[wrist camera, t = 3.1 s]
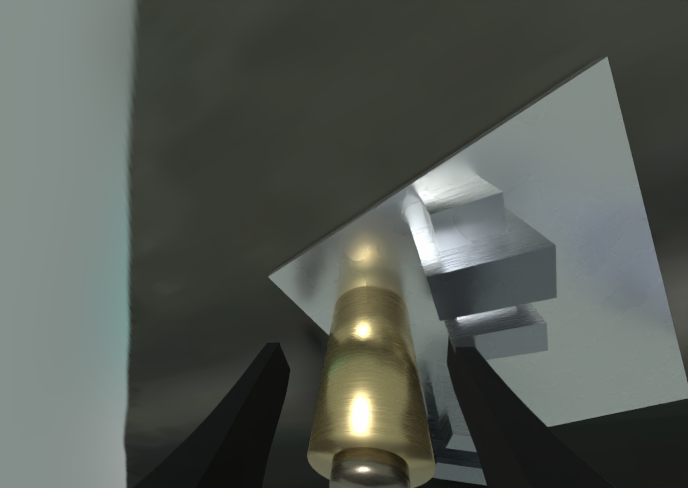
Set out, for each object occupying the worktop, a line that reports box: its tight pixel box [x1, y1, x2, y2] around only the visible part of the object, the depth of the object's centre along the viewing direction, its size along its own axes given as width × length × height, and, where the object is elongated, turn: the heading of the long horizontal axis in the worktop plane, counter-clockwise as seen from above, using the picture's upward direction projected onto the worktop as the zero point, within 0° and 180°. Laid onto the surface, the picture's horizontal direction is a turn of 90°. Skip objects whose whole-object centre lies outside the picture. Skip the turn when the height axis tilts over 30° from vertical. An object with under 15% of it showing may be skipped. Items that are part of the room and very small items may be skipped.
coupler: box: [308, 286, 436, 488], centre depth 10 cm, size 4×4×7 cm
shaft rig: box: [268, 57, 688, 485], centre depth 12 cm, size 15×20×4 cm
